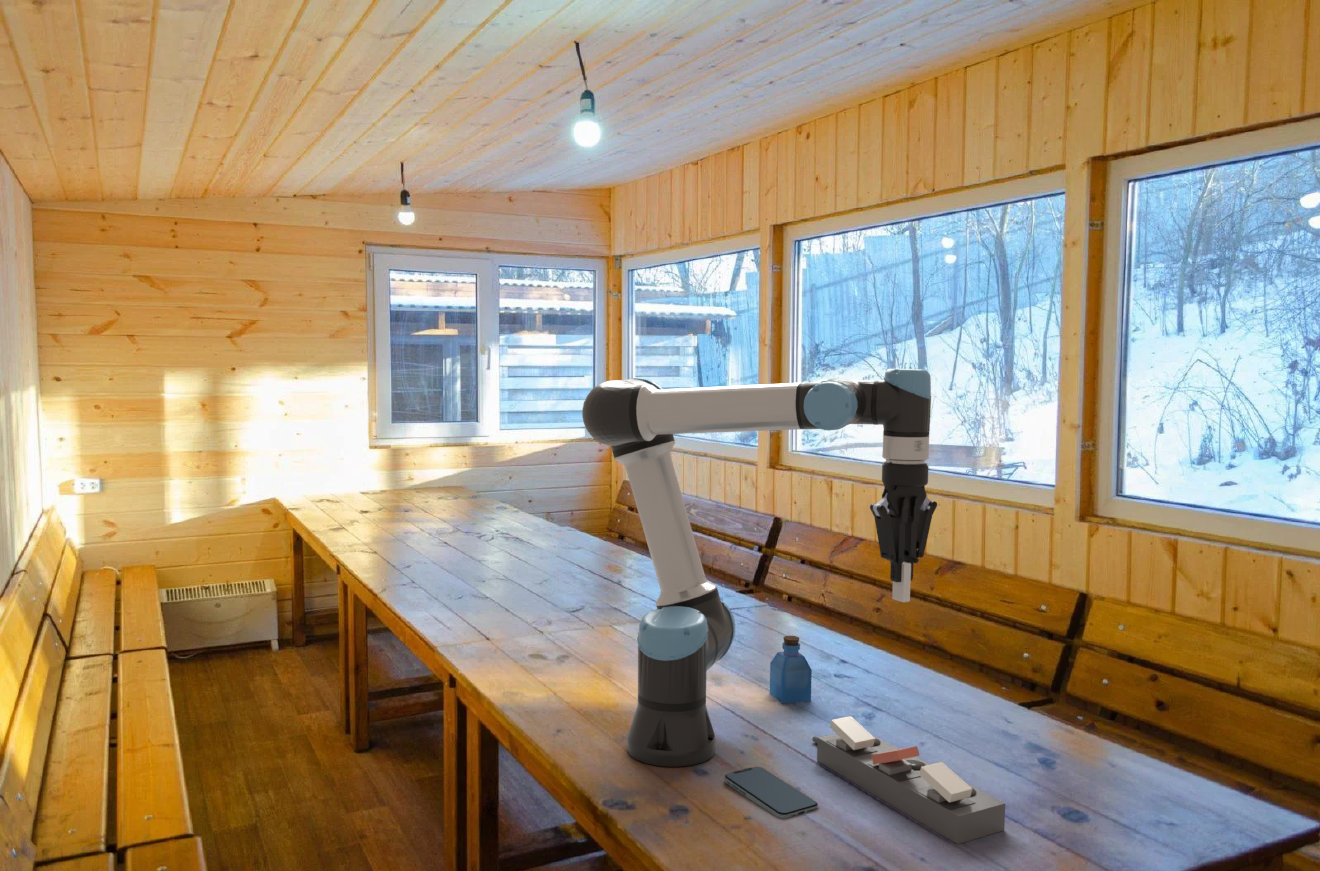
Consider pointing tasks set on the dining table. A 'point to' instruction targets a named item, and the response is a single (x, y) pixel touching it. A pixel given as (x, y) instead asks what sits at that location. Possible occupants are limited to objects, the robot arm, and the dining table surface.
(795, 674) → the perfume bottle
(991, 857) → the dining table surface
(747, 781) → the smartphone
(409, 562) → the dining table surface
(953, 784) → the rocker near
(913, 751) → the rocker mid
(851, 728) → the rocker far
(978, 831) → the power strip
